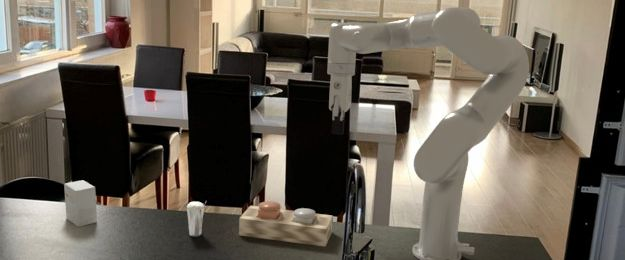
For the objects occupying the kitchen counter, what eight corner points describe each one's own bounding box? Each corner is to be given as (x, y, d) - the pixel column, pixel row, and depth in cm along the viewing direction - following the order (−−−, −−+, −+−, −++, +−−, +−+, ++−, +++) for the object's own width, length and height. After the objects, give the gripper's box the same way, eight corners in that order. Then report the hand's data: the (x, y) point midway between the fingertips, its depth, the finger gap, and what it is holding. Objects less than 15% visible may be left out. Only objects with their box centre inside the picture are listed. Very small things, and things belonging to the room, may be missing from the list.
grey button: (316, 229, 171) (317, 209, 170) (312, 237, 165) (313, 217, 164) (296, 226, 172) (297, 207, 171) (291, 234, 166) (292, 214, 165)
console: (331, 232, 172) (332, 215, 171) (325, 246, 163) (326, 229, 162) (250, 221, 177) (250, 205, 176) (239, 235, 167) (239, 218, 166)
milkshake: (203, 238, 164) (203, 203, 162) (184, 236, 165) (184, 201, 163) (209, 232, 168) (209, 198, 166) (190, 230, 169) (190, 195, 167)
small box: (97, 222, 171) (95, 187, 169) (77, 227, 167) (75, 191, 165) (85, 214, 177) (83, 179, 174) (65, 218, 173) (63, 183, 171)
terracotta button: (281, 222, 173) (282, 202, 171) (276, 229, 167) (277, 209, 166) (261, 219, 174) (262, 200, 172) (255, 227, 168) (256, 207, 167)
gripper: (350, 73, 160) (346, 141, 164) (358, 66, 174) (354, 129, 178) (322, 71, 161) (319, 138, 165) (332, 64, 175) (329, 126, 180)
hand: (337, 133), depth 172 cm, fingers closed
